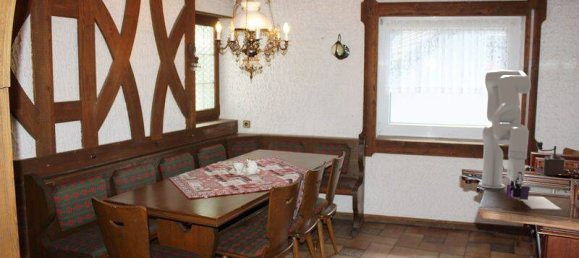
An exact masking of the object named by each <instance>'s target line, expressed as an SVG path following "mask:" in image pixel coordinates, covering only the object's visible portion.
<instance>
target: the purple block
mask: <svg viewBox="0 0 579 258" xmlns="http://www.w3.org/2000/svg"><path fill="white" fill-rule="evenodd" d="M511 187H512V188H514V185H510V184H507V185H506V192H505V198H506V199H512V200H513V199H514V200H518V201H519V202H521V200H520V199H524V200H528V196H530V195H529V194H530V186H528V185H527V186H526V185H521V197H513V190H512V193H511V192H510V188H511ZM510 193H511V194H510Z"/></svg>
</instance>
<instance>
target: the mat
mask: <svg viewBox="0 0 579 258" xmlns="http://www.w3.org/2000/svg"><path fill="white" fill-rule="evenodd" d="M522 201H523V202H522ZM520 202H522V203H523V204H525V205H526V206H527V207H528V208H530V209H532V210H549V211H550V210H551V211H553V210H554V211H562V208H560V207H559V206H557V205H556V204H554V203H553V202H551V201H550V200H549V199H547V198H546V197H544V196H532V195H531V196H530V195H528V200H524V199H520Z"/></svg>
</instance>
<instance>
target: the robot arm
mask: <svg viewBox="0 0 579 258" xmlns="http://www.w3.org/2000/svg"><path fill="white" fill-rule="evenodd" d="M484 83H485V88H486V92H487V108H486V109H487V110H486V117H487V120H488V122H491V124H489V125H485V126H484V127H483V130H482V140H483V141H482V142H483V156H482V170H481V171H482V174H481V181H479V182H478V186H479V187H482V188H487V189H493V190H494V189H495V190H497V189H505V187H506V185H505V184H504V183H503V182H502V181H503V168H504V167H503V165H504V151H503V150H502V148H501V147H500V145H508V151H507V152H508V153H507V158H508V162H507V170H506V178H507V179H509V185H514V188H512V187H511V188H510V192H511V193H512V190H513V197H521V186H523V182H524V181H525V172H526V171H525V170H526V167H525V166H526V165H525V164H526V163H525V162H526V161H525V160H527V159H528V158H527V157H528V144H529V131H530V130H529V129H528V127H526V125H524V124H521V122H522V121H521V120H522V111H521V107H520V105H521V101H520V95H519V94H528V93H529V92H530V91H531V88H532V84H531V83H532V81H531V79H530V77H529V76H528V75H527V73H525V72H524V71H522V70H518V69H517V70H512V69H511V70H509V69H507V70H506V69H495V70H494V69H493V70H490V71H487V72H486V74H485V77H484ZM511 193H510V195H511ZM513 197H512V198H513Z"/></svg>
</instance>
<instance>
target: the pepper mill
mask: <svg viewBox="0 0 579 258" xmlns="http://www.w3.org/2000/svg"><path fill="white" fill-rule="evenodd" d="M535 145H536V147H537V150H538V151H540V152H552V151H553V154H550V155H549V156H547V155H546V156H545V155H544V156H545V157H544V161H543V171H542V174H543V175H544V176H553V175H558V174H564V171H565V158H564V157H561V156H559V155H558V154H556V151H557V146H556V145H555V146H553V148H552V149H543V148H544V147H543V146H544V143H543V142H542V141H537V142H536V143H535Z"/></svg>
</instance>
